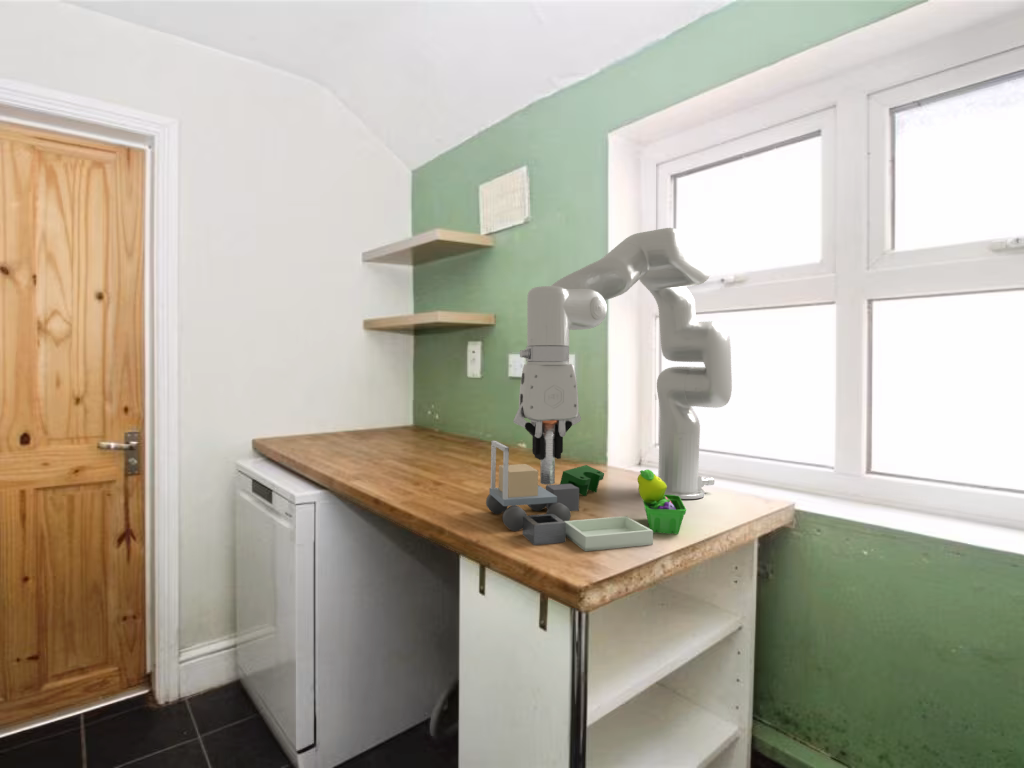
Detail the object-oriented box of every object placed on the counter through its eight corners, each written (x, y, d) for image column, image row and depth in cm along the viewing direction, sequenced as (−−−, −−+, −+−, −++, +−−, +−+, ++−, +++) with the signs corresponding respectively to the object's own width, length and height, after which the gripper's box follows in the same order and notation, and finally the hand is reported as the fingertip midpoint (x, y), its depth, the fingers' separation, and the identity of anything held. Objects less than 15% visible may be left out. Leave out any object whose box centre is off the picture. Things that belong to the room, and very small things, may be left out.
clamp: (579, 514, 128) (579, 484, 124) (558, 503, 132) (558, 474, 127) (605, 488, 136) (606, 459, 132) (585, 479, 140) (586, 451, 135)
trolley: (544, 508, 117) (546, 437, 116) (570, 526, 104) (572, 447, 103) (485, 512, 112) (487, 439, 112) (505, 532, 99) (506, 449, 99)
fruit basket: (686, 537, 99) (688, 477, 98) (637, 533, 100) (639, 474, 100) (678, 519, 110) (680, 465, 109) (634, 516, 111) (636, 463, 111)
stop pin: (552, 479, 99) (553, 415, 98) (560, 484, 95) (560, 418, 95) (534, 481, 98) (534, 416, 97) (541, 485, 94) (542, 418, 93)
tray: (625, 528, 103) (626, 516, 103) (652, 544, 94) (653, 530, 94) (563, 534, 99) (563, 521, 99) (585, 551, 90) (585, 536, 90)
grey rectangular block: (570, 505, 119) (570, 483, 119) (578, 511, 115) (579, 488, 115) (545, 507, 118) (545, 485, 117) (553, 512, 113) (553, 489, 113)
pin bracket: (552, 531, 100) (552, 513, 100) (565, 542, 94) (565, 522, 94) (522, 534, 98) (522, 515, 98) (533, 545, 92) (534, 525, 92)
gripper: (511, 356, 89) (511, 465, 90) (598, 356, 94) (597, 459, 95) (498, 356, 96) (499, 456, 97) (579, 356, 101) (579, 451, 102)
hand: (547, 457), depth 96 cm, fingers closed on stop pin, 2 cm apart
